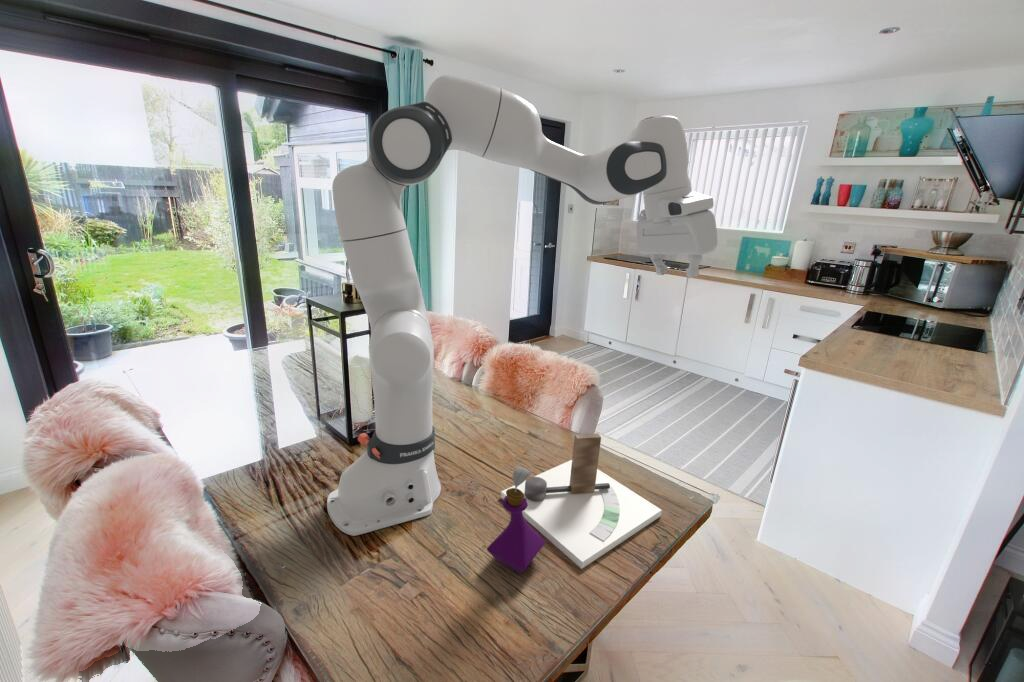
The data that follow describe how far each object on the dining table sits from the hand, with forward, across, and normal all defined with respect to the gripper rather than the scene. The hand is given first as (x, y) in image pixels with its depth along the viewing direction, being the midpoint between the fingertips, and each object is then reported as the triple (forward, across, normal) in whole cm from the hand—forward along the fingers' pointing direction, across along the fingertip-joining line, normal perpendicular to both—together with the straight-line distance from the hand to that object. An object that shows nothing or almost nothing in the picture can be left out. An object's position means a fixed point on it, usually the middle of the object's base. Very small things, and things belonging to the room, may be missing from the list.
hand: (676, 275), depth 91 cm
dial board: (+40, +2, -31) cm, 51 cm away
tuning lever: (+38, -1, -32) cm, 50 cm away
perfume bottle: (+38, +12, -48) cm, 62 cm away
